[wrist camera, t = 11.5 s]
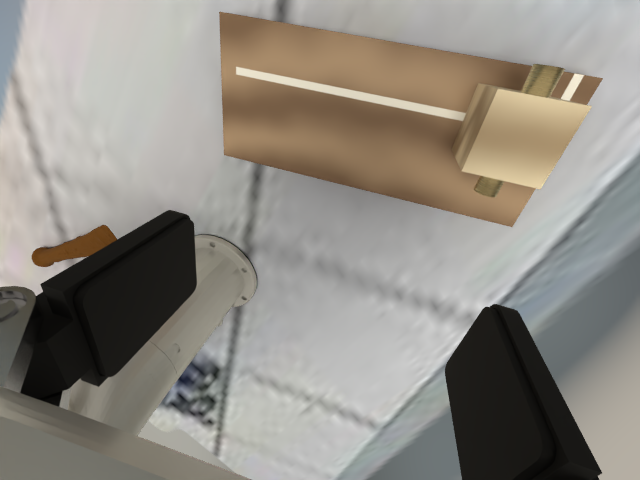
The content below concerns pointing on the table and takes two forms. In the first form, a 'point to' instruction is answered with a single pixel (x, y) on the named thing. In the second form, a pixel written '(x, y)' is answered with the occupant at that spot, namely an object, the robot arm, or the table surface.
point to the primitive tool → (74, 247)
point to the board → (365, 111)
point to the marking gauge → (516, 132)
